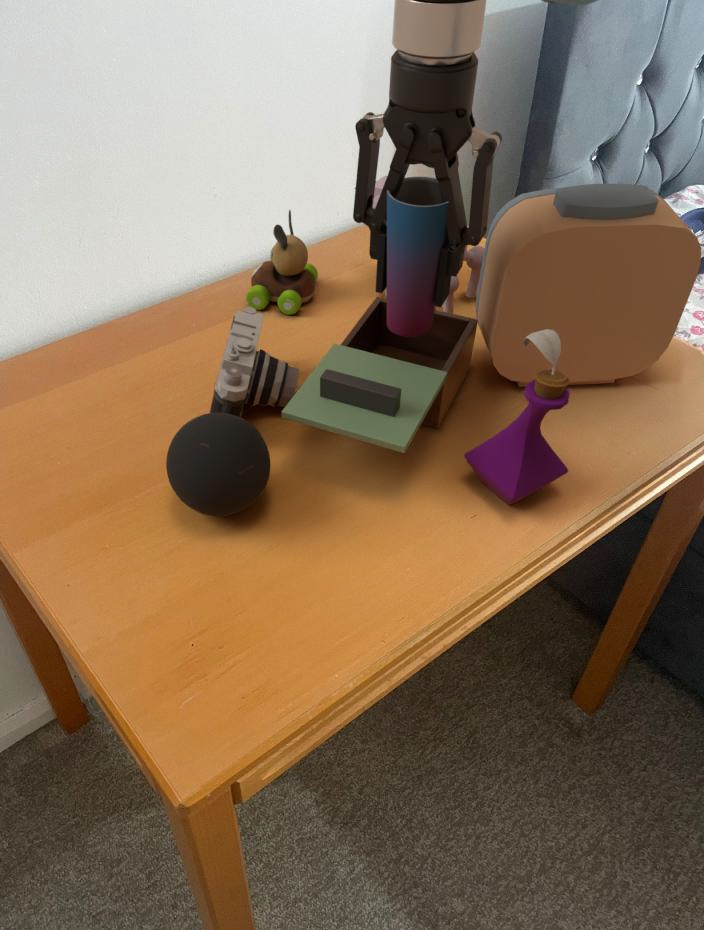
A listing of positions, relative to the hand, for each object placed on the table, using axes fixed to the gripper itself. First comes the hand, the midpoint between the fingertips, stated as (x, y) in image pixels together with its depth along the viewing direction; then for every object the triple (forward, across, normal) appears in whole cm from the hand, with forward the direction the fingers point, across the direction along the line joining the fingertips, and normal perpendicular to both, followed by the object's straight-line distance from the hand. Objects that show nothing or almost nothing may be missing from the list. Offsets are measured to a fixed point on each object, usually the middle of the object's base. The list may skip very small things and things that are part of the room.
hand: (412, 293), depth 81 cm
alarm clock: (+12, -16, -11) cm, 23 cm away
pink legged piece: (+12, +7, -21) cm, 25 cm away
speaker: (+12, +10, +26) cm, 30 cm away
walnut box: (+12, 0, 0) cm, 12 cm away
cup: (+4, 0, 0) cm, 4 cm away
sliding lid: (+5, 0, +13) cm, 14 cm away
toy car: (+12, +22, -12) cm, 28 cm away
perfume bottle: (+12, -16, +12) cm, 23 cm away
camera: (+12, +14, +11) cm, 22 cm away
